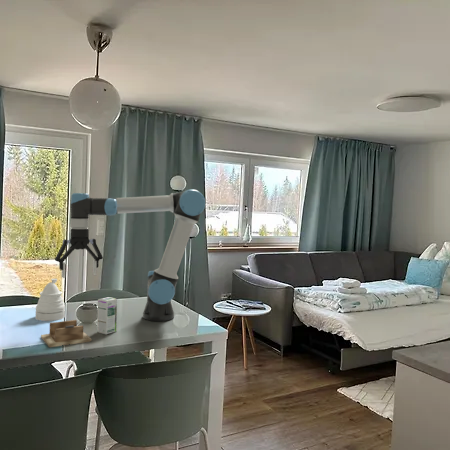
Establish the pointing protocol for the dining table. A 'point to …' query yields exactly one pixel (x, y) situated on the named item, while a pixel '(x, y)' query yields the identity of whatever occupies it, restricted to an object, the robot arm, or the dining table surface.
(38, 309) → the honey pot
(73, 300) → the dining table surface
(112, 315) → the syrup box
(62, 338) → the square wooden frame
